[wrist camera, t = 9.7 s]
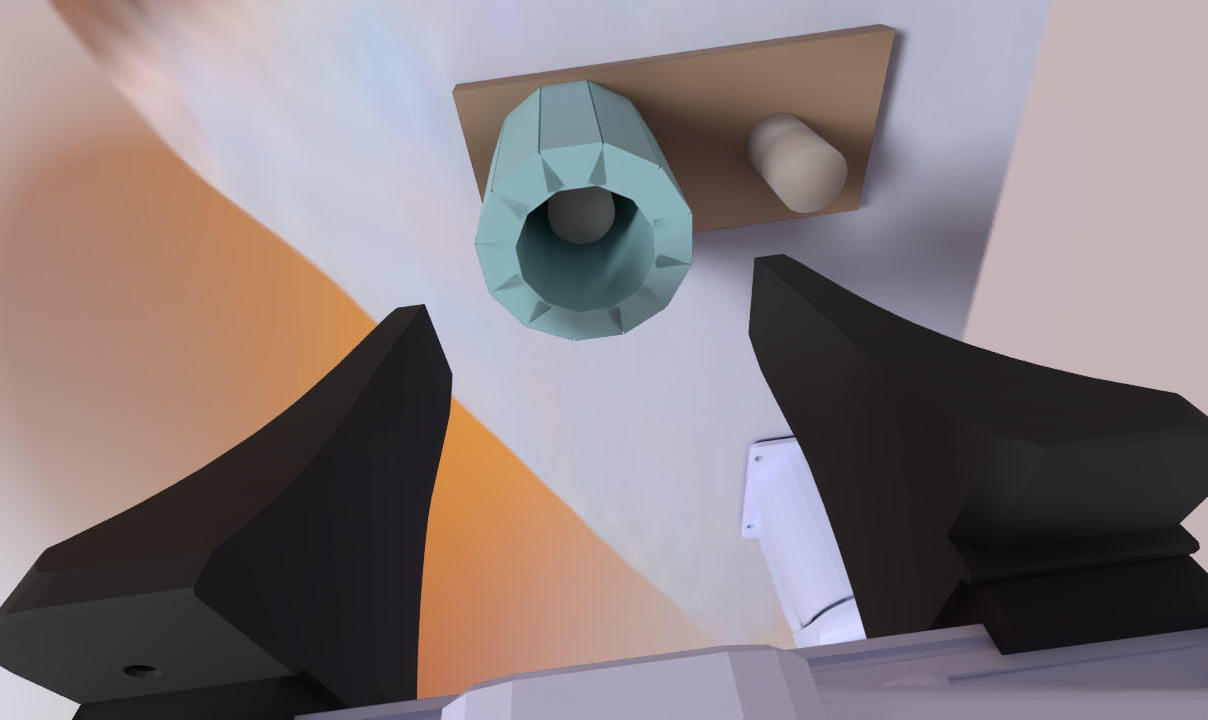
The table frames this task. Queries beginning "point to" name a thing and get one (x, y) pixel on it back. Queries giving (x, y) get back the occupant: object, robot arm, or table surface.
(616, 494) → the table surface
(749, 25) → the table surface
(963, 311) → the table surface
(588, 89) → the sleeve
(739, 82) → the pin board
